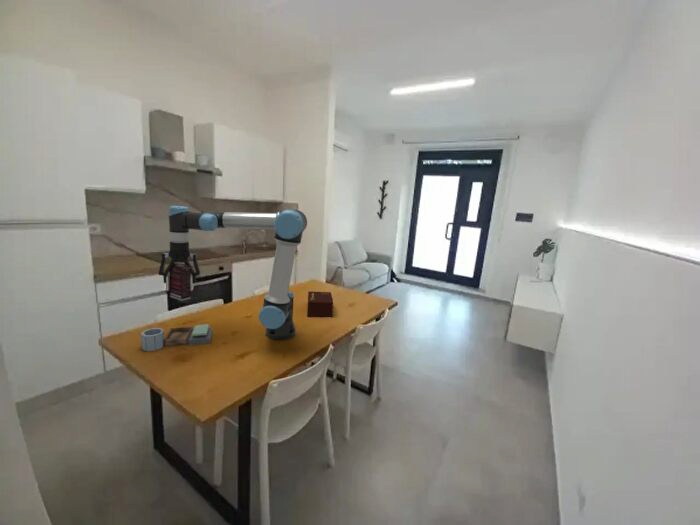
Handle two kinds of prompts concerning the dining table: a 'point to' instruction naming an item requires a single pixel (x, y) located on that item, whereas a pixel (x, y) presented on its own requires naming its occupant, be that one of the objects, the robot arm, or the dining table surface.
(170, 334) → the brown wooden tray
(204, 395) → the dining table surface
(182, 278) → the supplement box
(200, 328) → the mint green block
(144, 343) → the cup
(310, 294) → the box
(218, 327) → the dining table surface
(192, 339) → the blue-grey rectangular tray
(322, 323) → the dining table surface
